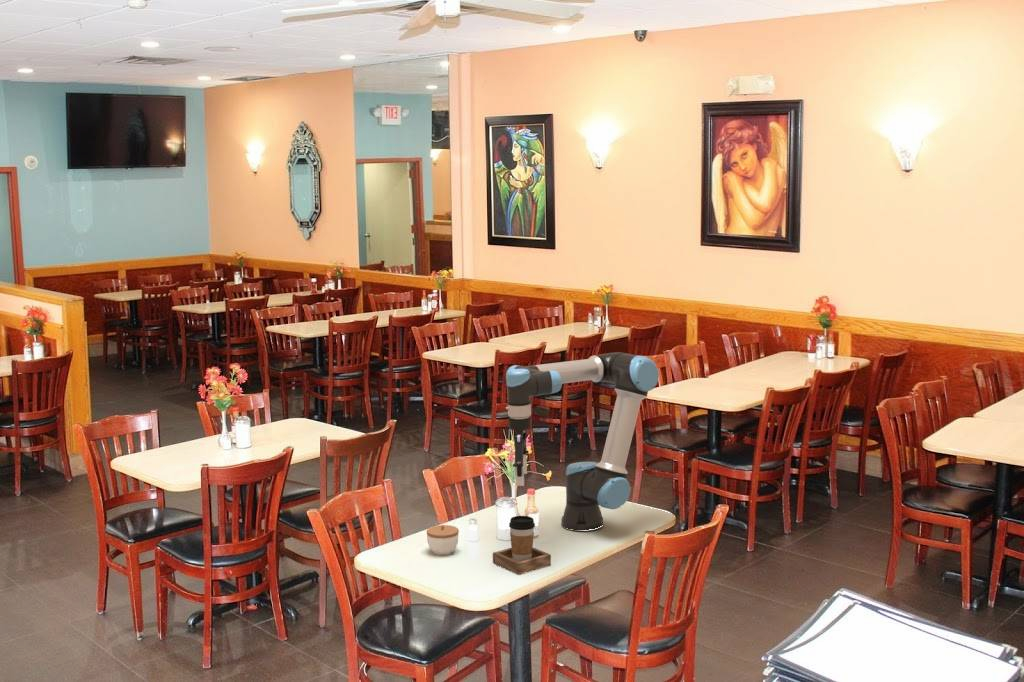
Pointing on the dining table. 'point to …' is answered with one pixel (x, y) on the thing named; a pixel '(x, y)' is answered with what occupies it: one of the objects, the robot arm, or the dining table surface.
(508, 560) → the square brown tray
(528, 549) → the coffee cup
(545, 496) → the dining table surface
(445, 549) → the lidded jar
